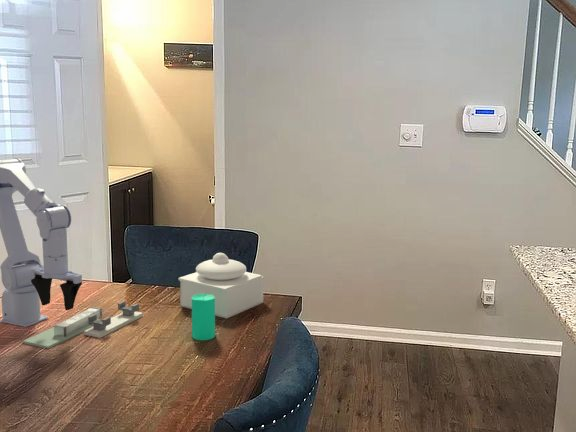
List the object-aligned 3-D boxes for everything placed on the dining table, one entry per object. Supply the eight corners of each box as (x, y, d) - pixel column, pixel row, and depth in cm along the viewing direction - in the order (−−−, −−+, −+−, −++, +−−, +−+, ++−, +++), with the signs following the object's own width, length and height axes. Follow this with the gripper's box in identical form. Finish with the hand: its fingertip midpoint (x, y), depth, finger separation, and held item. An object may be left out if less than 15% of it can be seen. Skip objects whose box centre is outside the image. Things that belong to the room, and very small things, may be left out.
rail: (53, 335, 159) (53, 325, 159) (92, 315, 174) (92, 306, 174) (64, 337, 158) (63, 327, 158) (102, 317, 173) (102, 308, 173)
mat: (22, 343, 156) (22, 340, 156) (68, 322, 170) (68, 320, 170) (48, 348, 153) (48, 346, 153) (92, 327, 167) (92, 325, 167)
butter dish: (263, 303, 191) (264, 251, 188) (225, 319, 176) (225, 264, 173) (218, 292, 200) (218, 243, 197) (178, 306, 186) (178, 254, 183)
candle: (210, 341, 160) (210, 295, 158) (188, 339, 161) (188, 293, 159) (218, 332, 166) (218, 288, 163) (196, 330, 167) (196, 286, 165)
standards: (83, 334, 162) (83, 319, 161) (127, 313, 178) (127, 299, 178) (100, 338, 160) (99, 322, 159) (143, 316, 176) (142, 301, 176)
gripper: (20, 254, 157) (23, 306, 159) (66, 262, 151) (68, 316, 154) (42, 248, 163) (44, 298, 166) (86, 255, 157) (88, 307, 160)
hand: (57, 306), depth 160 cm, fingers open, 7 cm apart
